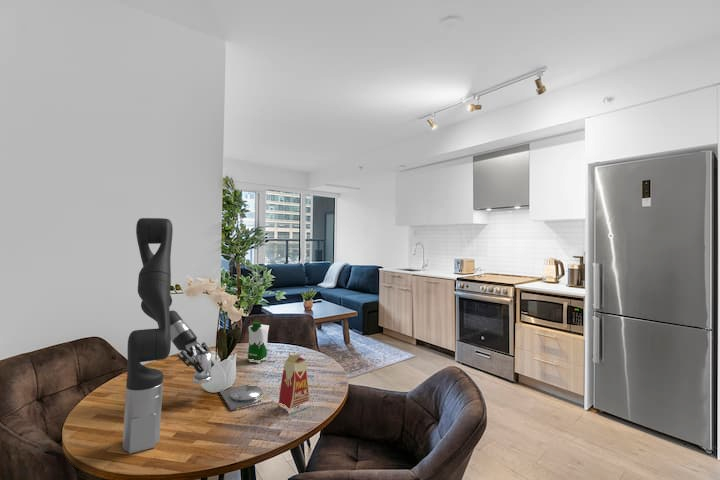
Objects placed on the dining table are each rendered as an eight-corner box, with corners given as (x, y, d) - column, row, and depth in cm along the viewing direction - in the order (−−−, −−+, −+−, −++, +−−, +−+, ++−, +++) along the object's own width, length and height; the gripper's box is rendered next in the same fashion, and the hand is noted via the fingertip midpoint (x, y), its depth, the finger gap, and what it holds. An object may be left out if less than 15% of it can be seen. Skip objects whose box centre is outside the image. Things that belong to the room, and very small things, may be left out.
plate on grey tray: (273, 401, 130) (274, 396, 130) (230, 411, 121) (230, 405, 121) (258, 384, 144) (259, 380, 144) (219, 392, 135) (219, 387, 135)
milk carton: (310, 406, 127) (313, 353, 127) (289, 414, 120) (292, 357, 121) (297, 398, 133) (299, 347, 134) (276, 405, 127) (278, 351, 127)
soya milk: (244, 362, 171) (246, 322, 172) (255, 357, 180) (257, 319, 180) (259, 364, 169) (261, 324, 169) (269, 359, 177) (271, 321, 178)
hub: (213, 381, 128) (215, 354, 128) (194, 384, 124) (195, 356, 125) (209, 375, 133) (211, 349, 134) (191, 378, 130) (192, 352, 130)
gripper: (174, 332, 124) (202, 368, 121) (199, 325, 138) (224, 357, 135) (160, 346, 125) (188, 382, 122) (187, 337, 139) (212, 369, 136)
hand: (207, 368), depth 129 cm, fingers closed on hub, 5 cm apart
